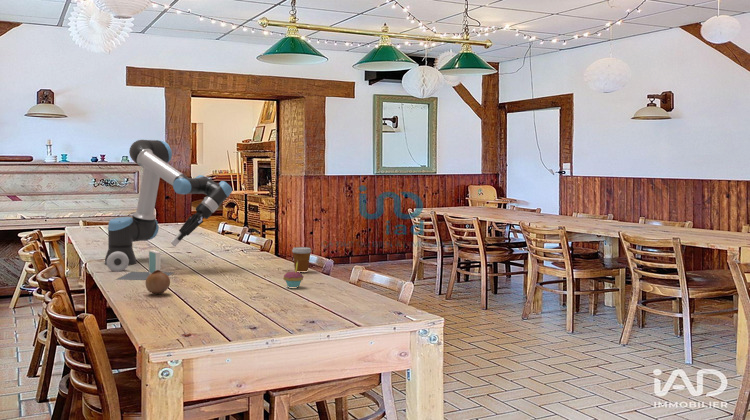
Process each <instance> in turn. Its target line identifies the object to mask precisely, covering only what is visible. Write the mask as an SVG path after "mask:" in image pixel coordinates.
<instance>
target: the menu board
mask: <svg viewBox="0 0 750 420" xmlns="http://www.w3.org/2000/svg"><path fill="white" fill-rule="evenodd" d="M156 270H160V271H161V251H157V250H154V249H149V250H148V272H149V274H152V273H153V272H154V271H156Z"/></svg>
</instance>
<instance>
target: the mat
mask: <svg viewBox="0 0 750 420" xmlns="http://www.w3.org/2000/svg"><path fill="white" fill-rule="evenodd" d="M162 272H163V273H165V274H166V275H168V277H169V276H171V275H173V274H175V272H172V271H171V272H169V271H168V272H167V271H166V272H164V271H162ZM149 275H150V274H149V271H130V272H128V273H126V274H124V275H122V276H120V277H117V278H115V280H118V281H121V280H122V281H123V280H124V281H125V280H126V281H127V280H128V281H146V279H147V277H148V276H149Z"/></svg>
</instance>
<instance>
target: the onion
mask: <svg viewBox="0 0 750 420" xmlns="http://www.w3.org/2000/svg"><path fill="white" fill-rule="evenodd" d="M163 272H164V271H161V269H160V270H156V271H154V272H153V273H152V274H150V275H149V276H148V277H147V279H146V280H145V287H146V289H147V291H148V293H151V294H154V295H162V294H163V293H165V292H166V291H167V290H168V289H169V287H170V285H171V278H170V277H169V276H168V275H166V274H165V273H163Z"/></svg>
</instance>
